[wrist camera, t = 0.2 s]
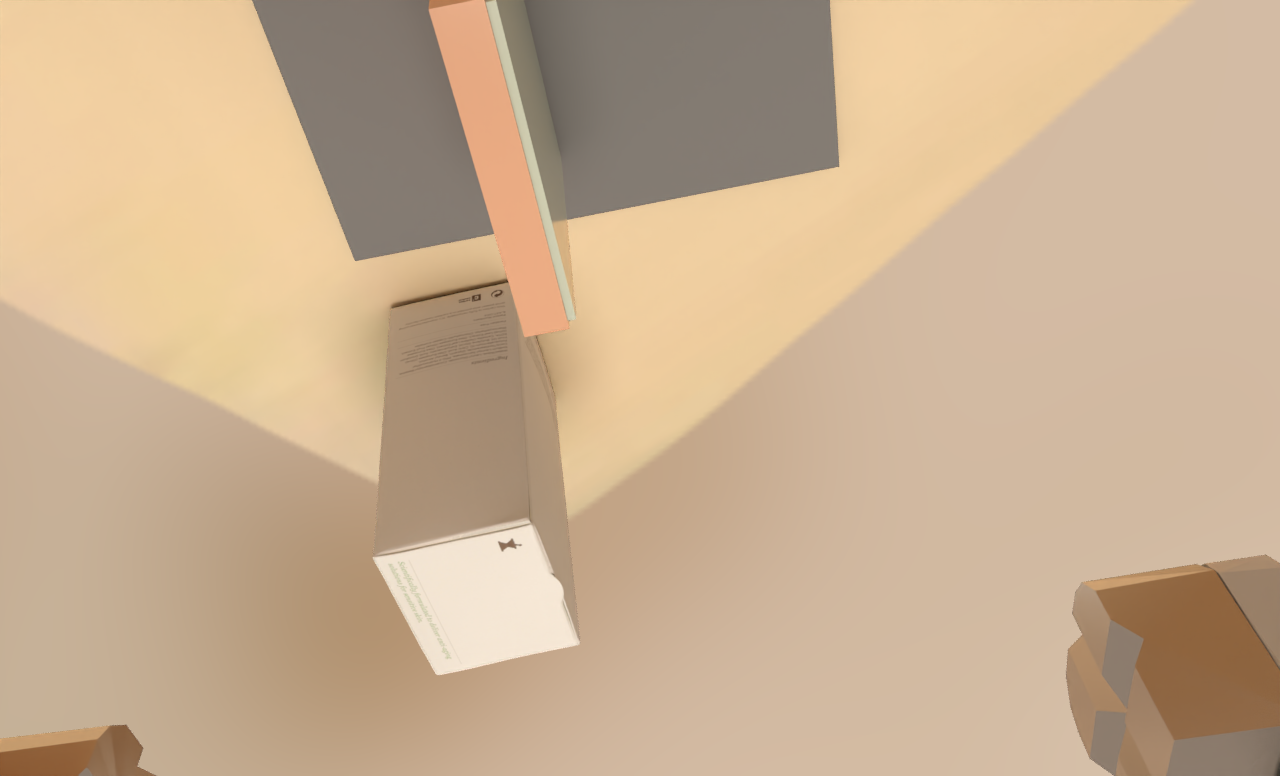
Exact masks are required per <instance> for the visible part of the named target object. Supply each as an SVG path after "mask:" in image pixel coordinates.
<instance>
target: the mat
mask: <svg viewBox="0 0 1280 776" xmlns="http://www.w3.org/2000/svg"><path fill="white" fill-rule="evenodd" d="M252 1H253V3H254V6H255V9H256V11H257V14H258V16H259V19H260V21H261V24H262V26H263V29H264V31H265V34H266V36H267V39H268V41H269V44H270V47H271V49H272V52H273V54H274V57H275V59H276V62H277V64H278V67H279V69H280V72H281V74H282V77H283V80H284V82H285V85H286V87H287V90H288V92H289V95H290V97H291V100H292V102H293V105H294V107H295V110H296V112H297V115H298V118H299V120H300V123H301V125H302V128H303V130H304V133H305V135H306V138H307V140H308V143H309V145H310V148H311V151H312V153H313V156H314V158H315V161H316V163H317V166H318V168H319V171H320V173H321V176H322V178H323V181H324V183H325V186H326V189H327V191H328V194H329V196H330V199H331V201H332V204H333V206H334V209H335V211H336V214H337V216H338V219H339V221H340V224H341V227H342V229H343V232H344V234H345V237H346V239H347V242H348V244H349V247H350V249H351V252H352V254H353V257H354V260H355V261H358V260H363V259H368V258H373V257H379V256H384V255H389V254H394V253H399V252H404V251H409V250H414V249H420V248H425V247H430V246H435V245H440V244H445V243H450V242H455V241H460V240H466V239H471V238H476V237H481V236H486V235H491V234H494V231H493V228H492V224H491V221H490V217H489V214H488V211H487V207H486V204H485V200H484V197H483V193H482V190H481V187H480V183H479V180H478V176H477V173H476V170H475V166H474V163H473V159H472V156H471V153H470V149H469V146H468V142H467V139H466V135H465V132H464V129H463V125H462V122H461V118H460V115H459V112H458V108H457V105H456V101H455V98H454V95H453V91H452V88H451V84H450V81H449V77H448V74H447V71H446V67H445V64H444V60H443V57H442V54H441V50H440V47H439V43H438V40H437V37H436V33H435V30H434V26H433V23H432V20H431V16H430V13H429V0H252ZM524 2H525V6H526V11H527V15H528V19H529V23H530V27H531V32H532V36H533V40H534V44H535V49H536V53H537V57H538V61H539V66H540V70H541V74H542V78H543V83H544V87H545V91H546V95H547V100H548V104H549V108H550V112H551V116H552V121H553V125H554V129H555V133H556V138H557V142H558V146H559V150H560V155H561V161H562V172H563V182H564V193H565V204H566V214H567V220H568V219H573V218H578V217H583V216H589V215H594V214H599V213H604V212H609V211H614V210H619V209H624V208H630V207H635V206H640V205H645V204H650V203H655V202H660V201H665V200H670V199H676V198H681V197H686V196H691V195H696V194H701V193H706V192H711V191H717V190H722V189H727V188H732V187H737V186H742V185H747V184H752V183H758V182H763V181H768V180H773V179H778V178H783V177H788V176H793V175H799V174H804V173H809V172H814V171H819V170H824V169H829V168H834V167H839V155H838V137H837V120H836V103H835V86H834V68H833V51H832V34H831V16H830V0H524Z"/></svg>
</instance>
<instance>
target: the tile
mask: <svg viewBox="0 0 1280 776" xmlns="http://www.w3.org/2000/svg"><path fill="white" fill-rule="evenodd" d="M429 13H430V16H431V20H432V23H433V26H434V30H435V33H436V37H437V40H438V43H439V47H440V50H441V54H442V57H443V60H444V64H445V67H446V71H447V74H448V77H449V81H450V84H451V88H452V91H453V95H454V98H455V101H456V105H457V108H458V112H459V115H460V118H461V122H462V125H463V129H464V132H465V135H466V139H467V142H468V146H469V149H470V153H471V156H472V159H473V163H474V166H475V170H476V173H477V176H478V180H479V183H480V187H481V190H482V193H483V197H484V200H485V204H486V207H487V211H488V214H489V217H490V221H491V224H492V228H493V231H494V234H495V238H496V241H497V245H498V248H499V251H500V255H501V258H502V262H503V265H504V268H505V272H506V275H507V279H508V282H509V286H510V289H511V292H512V296H513V299H514V303H515V306H516V309H517V313H518V316H519V320H520V323H521V326H522V330H523V333H524V337H529V336H534V335H539V334H544V333H549V332H555V331H560V330H565V329H569V320H575V319H576V310H575V299H574V289H573V278H572V267H571V257H570V246H569V235H568V225H567V214H566V204H565V193H564V182H563V172H562V161H561V155H560V150H559V146H558V142H557V138H556V133H555V129H554V125H553V121H552V116H551V112H550V108H549V104H548V100H547V95H546V91H545V87H544V83H543V78H542V74H541V70H540V66H539V61H538V57H537V53H536V49H535V44H534V40H533V36H532V32H531V27H530V23H529V19H528V15H527V11H526V6H525V2H524V0H429Z"/></svg>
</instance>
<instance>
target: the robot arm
mask: <svg viewBox="0 0 1280 776" xmlns="http://www.w3.org/2000/svg"><path fill="white" fill-rule="evenodd" d="M1072 614H1073V616H1074V618H1075V620H1076V622H1077V624H1078V626H1079V629H1080V631H1081V633H1082V636H1081V637H1080V638H1079V639H1078V640H1077V641H1076V642H1075V643H1074V644H1073V645H1072V646H1071V647H1070V648H1069V649H1068V656H1067V671H1066V679H1067V686H1068V693H1069V700H1070V706H1071V710H1072V713H1073V717H1074V720H1075V723H1076V726H1077V729H1078V732H1079V735H1080V737H1081V739H1082V742H1083V744H1084V746H1085V749H1086V751H1087V753H1088V755H1089V758H1090V759H1091V760H1093V761H1094V762H1095V763H1097V764H1098V765H1100V766H1101V767H1102V768H1104V769H1106V770H1107V771H1108V772H1110V773H1111V774H1112V775H1114V776H1280V563H1279V562H1277V561H1275V560H1274V559H1272V558H1271V557H1269V556H1267V555H1261V556H1254V557H1248V558H1241V559H1233V560H1227V561H1220V562H1213V563H1206V564H1203V565H1197V564H1194V565H1187V566H1181V567H1175V568H1168V569H1162V570H1155V571H1150V572H1143V573H1137V574H1130V575H1124V576H1118V577H1111V578H1105V579H1099V580H1092V581H1086V582H1082V583H1081V584H1080V586H1079V587H1078V589H1077V590H1076V592H1075V598H1074V605H1073V612H1072ZM142 750H143V747H142V745H141V744H140V743H139V741H138V740H137V739H136V737H135V736H134V735H133V733H132V732H131V731H130V729H129V728H128V727H127V725H112V726H103V727H94V728H85V729H78V730H69V731H60V732H52V733H43V734H35V735H27V736H18V737H10V738H2V739H0V776H156V775H154V774H152V773H150V772H148V771H146V770H144V769H141V768H139V767H137V766H138V762H139V760H140V756H141V753H142Z"/></svg>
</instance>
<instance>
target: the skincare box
mask: <svg viewBox="0 0 1280 776" xmlns="http://www.w3.org/2000/svg"><path fill="white" fill-rule="evenodd" d="M373 559H374V561H375V563H376V565H377V566H378V568H379V570H380V572H381V574H382V576H383V577H384V579H385V581H386V583H387V585H388V587H389V589H390V591H391V593H392V594H393V596H394V598H395V600H396V602H397V604H398V606H399V608H400V609H401V611H402V613H403V615H404V617H405V619H406V621H407V622H408V624H409V626H410V628H411V630H412V632H413V634H414V636H415V638H416V639H417V641H418V643H419V645H420V647H421V648H422V650H423V652H424V654H425V655H426V657H427V659H428V661H429V662H430V664H431V666H432V668H433V670H434V672H435V673H436V674H437V675H441V674H446V673H452V672H457V671H462V670H466V669H471V668H475V667H479V666H483V665H487V664H492V663H496V662H500V661H505V660H509V659H513V658H517V657H522V656H526V655H531V654H536V653H541V652H546V651H550V650H555V649H560V648H566V647H571V646H576V645H579V644H580V636H579V635H580V634H579V623H578V616H577V606H576V597H575V587H574V579H573V569H572V558H571V550H570V541H569V530H568V520H567V510H566V500H565V491H564V482H563V473H562V463H561V454H560V444H559V434H558V422H557V412H556V400H555V395H554V392H553V388H552V385H551V382H550V379H549V376H548V372H547V369H546V366H545V363H544V360H543V357H542V354H541V351H540V348H539V345H538V342H537V338H536V335H534V336H529V337H524V333H523V330H522V326H521V323H520V320H519V316H518V313H517V309H516V306H515V303H514V299H513V296H512V292H511V289H510V286H509V282H508V283H503V284H498V285H494V286H489V287H484V288H480V289H475V290H470V291H466V292H461V293H456V294H452V295H448V296H443V297H439V298H435V299H430V300H426V301H421V302H416V303H412V304H408V305H404V306H399V307H395V308H392V309H391V310H390V319H389V335H388V350H387V364H386V381H385V396H384V410H383V424H382V439H381V453H380V467H379V482H378V498H377V513H376V526H375V539H374V553H373Z"/></svg>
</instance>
